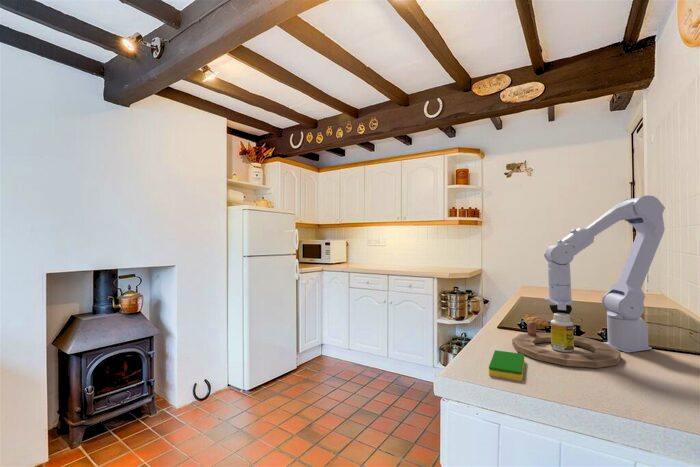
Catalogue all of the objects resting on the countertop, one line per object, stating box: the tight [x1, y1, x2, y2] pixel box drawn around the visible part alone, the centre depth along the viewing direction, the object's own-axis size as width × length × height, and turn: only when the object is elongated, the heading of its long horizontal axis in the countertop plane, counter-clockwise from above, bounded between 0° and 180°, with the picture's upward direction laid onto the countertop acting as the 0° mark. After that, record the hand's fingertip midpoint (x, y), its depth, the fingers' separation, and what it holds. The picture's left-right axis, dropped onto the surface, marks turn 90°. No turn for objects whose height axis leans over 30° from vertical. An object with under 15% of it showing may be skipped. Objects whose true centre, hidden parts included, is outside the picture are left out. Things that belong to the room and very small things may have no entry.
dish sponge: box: [488, 349, 525, 382], centre depth 84 cm, size 7×14×2 cm, turn 151°
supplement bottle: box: [550, 313, 575, 353], centre depth 96 cm, size 6×6×10 cm
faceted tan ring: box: [511, 321, 622, 369], centre depth 95 cm, size 25×25×6 cm
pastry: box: [522, 314, 551, 330], centre depth 120 cm, size 9×7×4 cm
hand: (561, 329), depth 100 cm, fingers closed
